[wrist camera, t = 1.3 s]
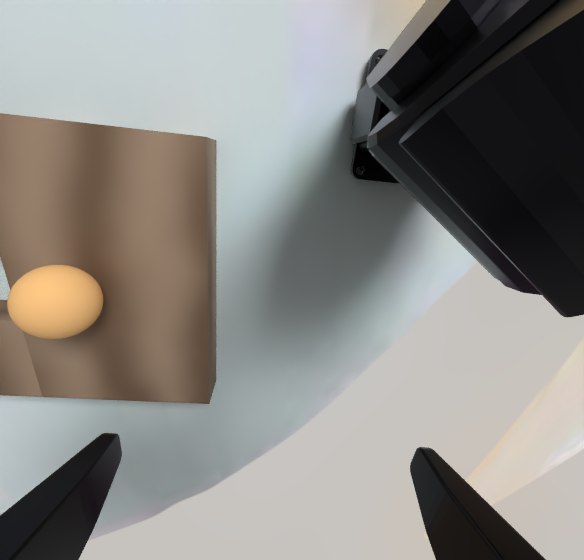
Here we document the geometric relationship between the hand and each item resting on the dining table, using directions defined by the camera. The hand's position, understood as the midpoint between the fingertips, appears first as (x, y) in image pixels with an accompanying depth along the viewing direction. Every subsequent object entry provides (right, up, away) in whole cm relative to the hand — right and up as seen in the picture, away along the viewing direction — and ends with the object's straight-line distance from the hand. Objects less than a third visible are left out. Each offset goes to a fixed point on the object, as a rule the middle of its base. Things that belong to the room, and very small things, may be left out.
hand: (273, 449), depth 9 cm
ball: (-12, +4, +7) cm, 14 cm away
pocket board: (-15, +6, +11) cm, 20 cm away
